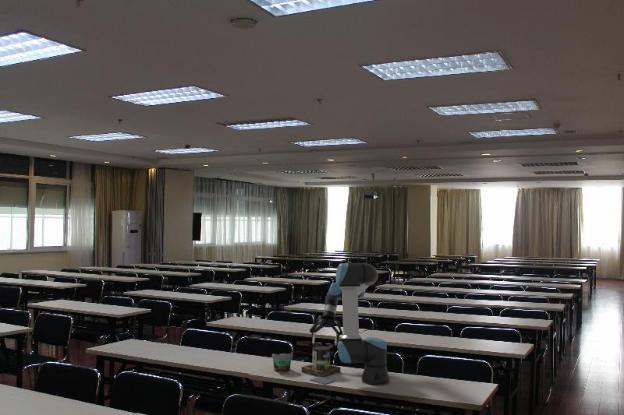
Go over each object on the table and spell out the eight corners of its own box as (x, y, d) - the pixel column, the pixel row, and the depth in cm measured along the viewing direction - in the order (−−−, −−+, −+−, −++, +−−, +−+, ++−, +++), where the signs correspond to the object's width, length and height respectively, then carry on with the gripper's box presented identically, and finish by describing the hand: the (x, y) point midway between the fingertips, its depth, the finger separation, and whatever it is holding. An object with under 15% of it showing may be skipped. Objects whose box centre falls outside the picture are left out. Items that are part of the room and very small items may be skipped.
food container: (273, 373, 337) (273, 355, 337) (271, 370, 343) (271, 353, 343) (294, 371, 340) (294, 354, 340) (292, 369, 346) (292, 352, 346)
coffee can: (333, 371, 341) (333, 347, 341) (322, 375, 333) (323, 350, 333) (319, 368, 347) (319, 344, 348) (308, 372, 339) (308, 348, 339)
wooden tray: (340, 372, 341) (340, 367, 341) (322, 377, 329) (322, 372, 329) (320, 367, 352) (320, 362, 352) (301, 372, 340) (301, 366, 340)
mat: (335, 381, 322) (335, 380, 322) (324, 384, 316) (324, 383, 316) (320, 377, 329) (320, 376, 329) (309, 380, 323) (309, 379, 323)
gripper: (350, 318, 364) (345, 348, 349) (310, 316, 369) (304, 345, 355) (348, 311, 359) (344, 341, 344) (308, 309, 364) (302, 338, 350)
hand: (324, 343), depth 349 cm, fingers open, 13 cm apart
